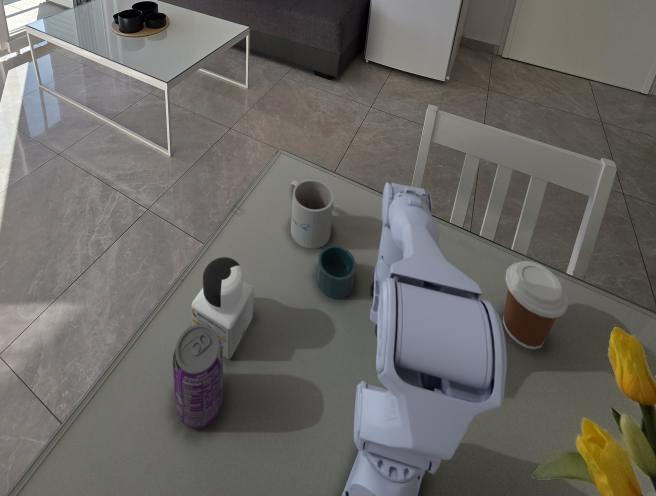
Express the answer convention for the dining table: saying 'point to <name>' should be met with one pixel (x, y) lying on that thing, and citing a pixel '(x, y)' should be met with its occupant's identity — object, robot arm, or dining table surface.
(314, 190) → the mug
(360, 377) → the dining table surface
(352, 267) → the dark teal cup
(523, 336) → the coffee cup
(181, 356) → the beverage can
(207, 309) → the container
